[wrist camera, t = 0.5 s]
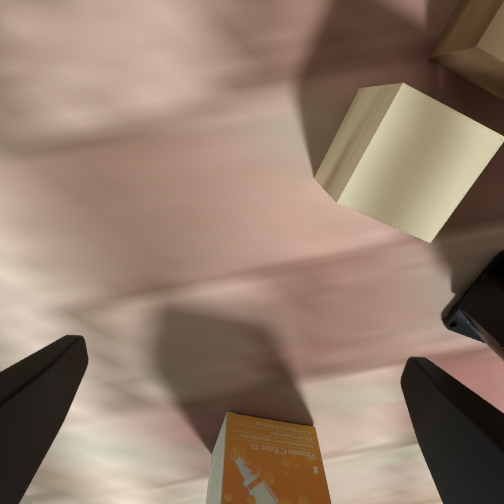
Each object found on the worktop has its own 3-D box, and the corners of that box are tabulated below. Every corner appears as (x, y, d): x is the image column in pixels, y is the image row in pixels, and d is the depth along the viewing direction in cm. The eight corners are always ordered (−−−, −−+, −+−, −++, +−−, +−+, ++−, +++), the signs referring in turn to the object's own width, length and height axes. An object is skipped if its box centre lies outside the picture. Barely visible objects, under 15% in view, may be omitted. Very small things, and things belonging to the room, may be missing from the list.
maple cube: (437, 128, 17) (506, 137, 13) (386, 209, 19) (430, 242, 15) (358, 88, 16) (403, 82, 12) (313, 177, 18) (336, 202, 14)
